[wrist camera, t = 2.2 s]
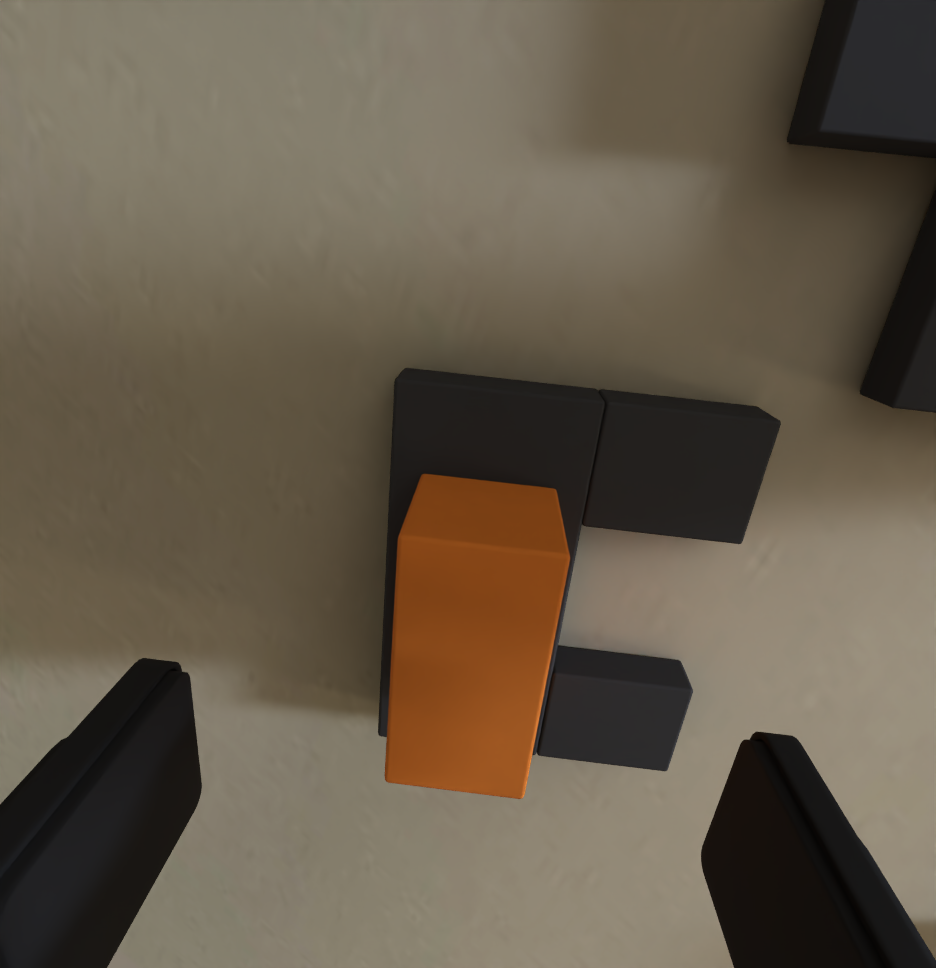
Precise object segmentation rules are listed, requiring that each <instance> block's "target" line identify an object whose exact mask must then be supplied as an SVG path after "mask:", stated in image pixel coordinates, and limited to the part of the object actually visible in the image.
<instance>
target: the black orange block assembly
mask: <svg viewBox="0 0 936 968" xmlns="http://www.w3.org/2000/svg"><path fill="white" fill-rule="evenodd" d="M780 425H781V422H780V421H779V420H778V419H776V418H774V417H773V416H771V415H770V414H768V413H767V412H765V411H763V410H762V409H760V408H759V407H756V406H747V405H738V404H729V403H720V402H711V401H702V400H693V399H684V398H675V397H666V396H657V395H648V394H639V393H630V392H621V391H612V390H603V389H602V390H599V392H598V391H597V390H596V389H592V388H583V387H574V386H565V385H556V384H547V383H538V382H529V381H520V380H511V379H502V378H493V377H484V376H475V375H466V374H457V373H447V372H438V371H429V370H420V369H411V368H405V369H404V370H403V371H402V372H401V373H400V374H399V376H398V377H397V378H396V380H395V384H394V405H393V426H392V448H391V469H390V490H389V512H388V533H387V554H386V575H385V597H384V618H383V639H382V661H381V682H380V703H379V724H378V734H379V735H380V736H384V737H387V743H386V762H385V780H386V781H387V782H389V783H397V784H405V785H413V786H421V787H429V788H437V789H445V790H453V791H461V792H469V793H477V794H485V795H493V796H500V797H508V798H516V799H521V798H523V797H524V794H525V789H526V784H527V779H528V774H529V769H530V764H531V758H532V755H535V754H536V752H537V754H538V755H539V756H546V757H554V758H562V759H570V760H578V761H586V762H594V763H602V764H611V765H619V766H627V767H635V768H643V769H651V770H659V771H667V770H668V767H669V764H670V761H671V758H672V755H673V751H674V748H675V745H676V742H677V739H678V736H679V733H680V730H681V727H682V724H683V721H684V718H685V715H686V712H687V709H688V705H689V702H690V699H691V696H692V693H693V689H692V687H691V684H690V682H689V679H688V677H687V675H686V672H685V670H684V668H683V665H682V663H681V661H679V660H673V659H664V658H656V657H648V656H639V655H631V654H623V653H614V652H606V651H598V650H589V649H581V648H573V647H564V646H558V642H559V637H560V632H561V627H562V621H563V616H564V611H565V606H566V601H567V596H568V591H569V586H570V581H571V576H572V571H573V566H574V561H575V556H576V551H577V545H578V540H579V535H580V530H581V525H582V524H583V525H584V526H588V527H597V528H605V529H614V530H623V531H631V532H640V533H649V534H657V535H666V536H675V537H683V538H692V539H701V540H709V541H718V542H727V543H735V544H741V543H742V541H743V538H744V535H745V532H746V529H747V526H748V523H749V520H750V516H751V513H752V510H753V507H754V504H755V501H756V498H757V495H758V492H759V489H760V486H761V483H762V480H763V477H764V474H765V471H766V467H767V464H768V461H769V458H770V455H771V452H772V449H773V446H774V443H775V440H776V437H777V434H778V431H779V428H780Z"/></svg>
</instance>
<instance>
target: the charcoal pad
mask: <svg viewBox="0 0 936 968" xmlns="http://www.w3.org/2000/svg"><path fill="white" fill-rule="evenodd" d="M787 142H788V143H790V144H799V145H809V146H819V147H829V148H839V149H848V150H858V151H868V152H878V153H888V154H898V155H908V156H918V157H927V158H936V0H825V4H824V8H823V11H822V15H821V18H820V22H819V26H818V29H817V33H816V37H815V40H814V44H813V48H812V51H811V55H810V58H809V62H808V66H807V69H806V73H805V77H804V80H803V84H802V88H801V91H800V95H799V99H798V102H797V106H796V109H795V113H794V117H793V120H792V124H791V128H790V131H789V135H788V139H787ZM860 394H862V395H863V396H866V397H868V398H871V399H873V400H875V401H878V402H880V403H883V404H885V405H888V406H890V407H892V408H899V409H908V410H917V411H926V412H935V413H936V190H935V193H934V196H933V198H932V201H931V204H930V206H929V209H928V212H927V214H926V217H925V220H924V222H923V225H922V228H921V230H920V233H919V236H918V238H917V241H916V244H915V246H914V249H913V252H912V254H911V257H910V260H909V262H908V265H907V268H906V270H905V273H904V276H903V278H902V281H901V284H900V286H899V289H898V292H897V294H896V297H895V300H894V302H893V305H892V308H891V310H890V313H889V316H888V318H887V321H886V324H885V326H884V329H883V332H882V334H881V337H880V340H879V342H878V345H877V348H876V350H875V353H874V356H873V358H872V361H871V364H870V366H869V369H868V372H867V374H866V377H865V380H864V382H863V385H862V388H861V390H860Z"/></svg>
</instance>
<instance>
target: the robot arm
mask: <svg viewBox="0 0 936 968" xmlns="http://www.w3.org/2000/svg"><path fill="white" fill-rule="evenodd" d="M201 789H202V783H201V774H200V764H199V755H198V746H197V737H196V728H195V719H194V710H193V700H192V691H191V682H190V676H189V674H188V673H187V672H182V669H181V666H180V664H179V663H178V662H172V661H164V660H156V659H147V658H142V659H140V660H138V661H137V662H136V663H135V664H134V665H133V666H132V667H131V668H130V669H129V670H128V671H127V672H126V674H125V675H124V676H123V677H122V678H121V679H120V680H119V681H118V682H117V683H116V685H115V686H114V687H113V688H112V689H111V690H110V691H109V692H108V693H107V694H106V696H105V697H104V698H103V699H102V700H101V701H100V702H99V703H98V704H97V706H96V707H95V708H94V709H93V710H92V711H91V712H90V713H89V714H88V715H87V717H86V718H85V719H84V720H83V721H82V722H81V723H80V724H79V725H78V726H77V728H76V729H75V730H74V731H73V732H72V733H71V734H70V735H69V736H68V737H67V738H65V739H63V740H61V741H60V742H59V743H58V744H56V745H55V746H54V747H53V748H52V749H51V750H50V751H49V752H48V753H47V754H46V755H45V756H44V758H43V759H42V760H41V761H40V762H39V763H38V764H37V765H36V766H35V767H34V768H33V769H32V771H31V772H30V773H29V774H28V775H27V776H26V777H25V778H24V779H23V780H22V781H21V783H20V784H19V785H18V786H17V787H16V788H15V789H14V790H13V791H12V792H11V793H10V795H9V796H8V797H7V798H6V799H5V800H4V801H3V802H2V803H1V804H0V968H107V966H108V965H109V963H110V961H111V960H112V958H113V956H114V954H115V952H116V951H117V949H118V947H119V945H120V943H121V942H122V940H123V938H124V936H125V934H126V933H127V931H128V929H129V927H130V926H131V924H132V922H133V920H134V918H135V917H136V915H137V913H138V911H139V909H140V908H141V906H142V904H143V902H144V900H145V899H146V897H147V895H148V893H149V891H150V890H151V888H152V886H153V884H154V883H155V881H156V879H157V877H158V875H159V874H160V872H161V870H162V868H163V866H164V865H165V863H166V861H167V859H168V857H169V856H170V854H171V852H172V850H173V848H174V847H175V845H176V843H177V841H178V840H179V838H180V836H181V834H182V832H183V831H184V829H185V827H186V825H187V823H188V822H189V820H190V818H191V816H192V814H193V813H194V811H195V809H196V807H197V804H198V802H199V799H200V795H201ZM701 862H702V869H703V873H704V876H705V879H706V882H707V885H708V888H709V891H710V895H711V898H712V901H713V904H714V907H715V910H716V913H717V916H718V919H719V922H720V925H721V928H722V932H723V935H724V938H725V941H726V944H727V947H728V950H729V953H730V956H731V959H732V962H733V965H734V968H936V960H935V958H934V957H933V955H932V954H931V952H930V950H929V949H928V947H927V945H926V944H925V942H924V940H923V939H922V937H921V936H920V934H919V932H918V931H917V929H916V927H915V926H914V924H913V923H912V921H911V919H910V918H909V916H908V914H907V913H906V911H905V910H904V908H903V906H902V905H901V903H900V901H899V900H898V898H897V897H896V895H895V893H894V892H893V890H892V888H891V887H890V885H889V884H888V882H887V880H886V879H885V877H884V875H883V874H882V872H881V870H880V869H879V867H878V866H877V864H876V862H875V861H874V859H873V857H872V856H871V854H870V853H869V851H868V849H867V848H866V847H865V845H864V844H863V843H862V841H861V840H860V839H859V838H858V836H857V835H856V833H855V832H854V830H853V828H852V827H851V825H850V823H849V822H848V820H847V818H846V817H845V815H844V814H843V812H842V810H841V809H840V807H839V805H838V804H837V802H836V800H835V799H834V797H833V795H832V794H831V792H830V791H829V789H828V787H827V786H826V784H825V782H824V781H823V779H822V777H821V776H820V774H819V773H818V771H817V769H816V768H815V766H814V764H813V763H812V761H811V759H810V758H809V756H808V755H807V753H806V751H805V750H804V748H803V746H802V745H801V743H800V742H799V741H798V740H797V739H796V738H795V737H793V736H789V735H781V734H773V733H764V732H755V733H754V734H753V735H752V737H751V738H750V740H743V741H742V743H741V744H740V747H739V749H738V752H737V755H736V758H735V760H734V763H733V766H732V768H731V771H730V774H729V776H728V779H727V782H726V784H725V787H724V790H723V792H722V795H721V798H720V801H719V803H718V806H717V809H716V811H715V814H714V817H713V819H712V822H711V825H710V827H709V830H708V833H707V835H706V838H705V841H704V844H703V846H702V852H701Z"/></svg>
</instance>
